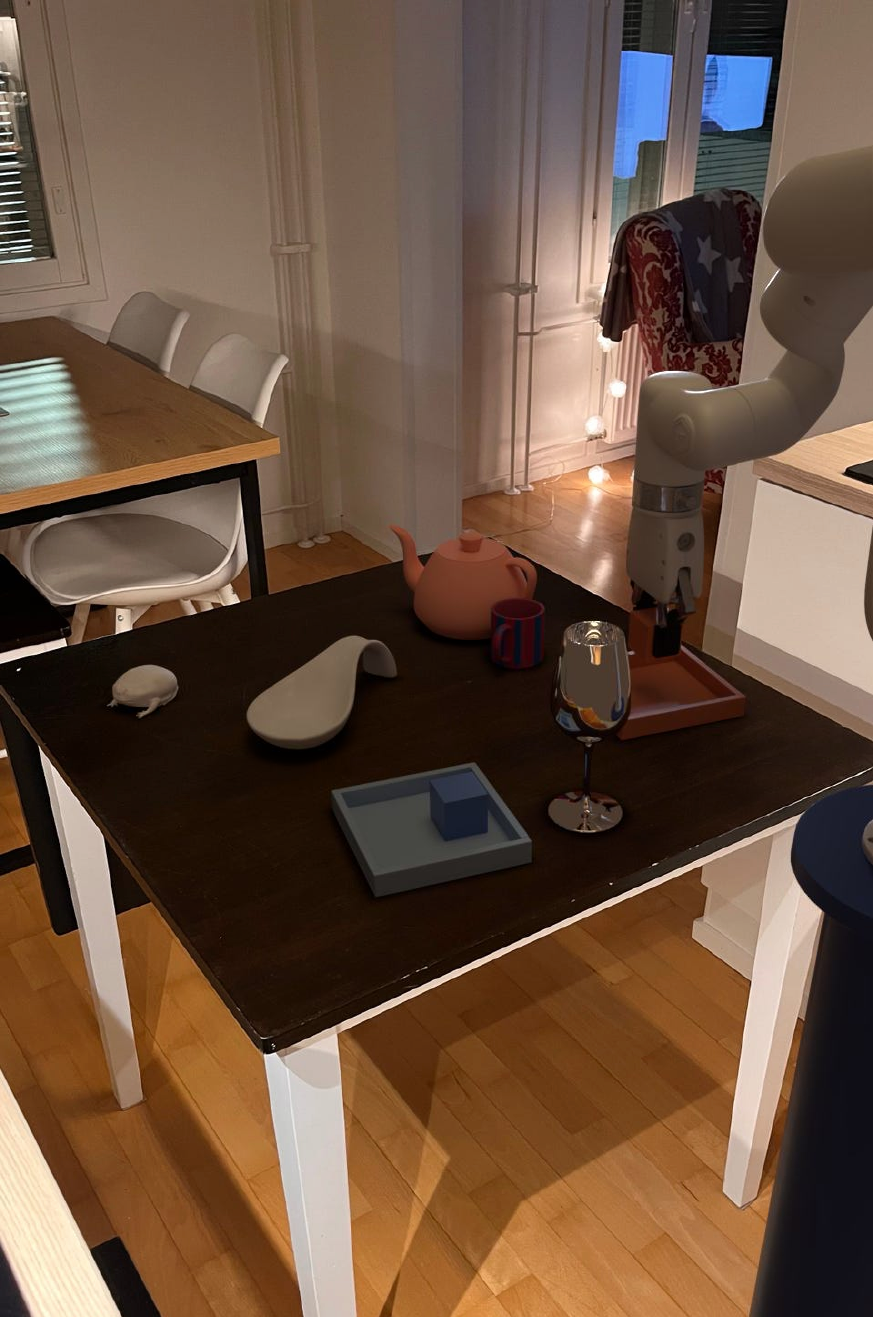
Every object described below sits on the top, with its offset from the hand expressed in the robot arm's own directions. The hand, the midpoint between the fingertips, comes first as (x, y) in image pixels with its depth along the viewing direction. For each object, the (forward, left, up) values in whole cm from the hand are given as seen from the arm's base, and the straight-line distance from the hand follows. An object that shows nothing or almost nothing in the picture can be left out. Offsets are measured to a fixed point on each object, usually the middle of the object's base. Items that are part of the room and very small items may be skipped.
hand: (654, 644), depth 137 cm
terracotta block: (0, 0, -1) cm, 1 cm away
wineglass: (-20, +18, -7) cm, 28 cm away
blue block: (-18, +31, -6) cm, 36 cm away
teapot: (+29, +13, -7) cm, 32 cm away
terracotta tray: (0, 0, -7) cm, 7 cm away
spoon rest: (+10, +37, -7) cm, 39 cm away
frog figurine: (+22, +57, -7) cm, 61 cm away
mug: (+15, +12, -7) cm, 20 cm away
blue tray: (-18, +34, -7) cm, 39 cm away
